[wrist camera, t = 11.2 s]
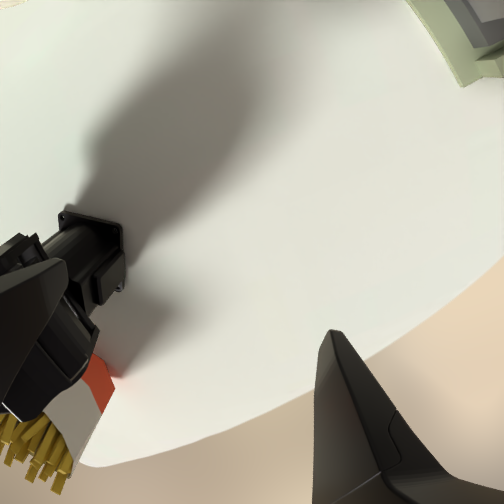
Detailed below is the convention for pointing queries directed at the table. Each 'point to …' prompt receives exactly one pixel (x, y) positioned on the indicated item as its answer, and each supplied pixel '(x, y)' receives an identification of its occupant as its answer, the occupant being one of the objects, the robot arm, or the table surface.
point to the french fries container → (59, 427)
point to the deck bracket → (458, 44)
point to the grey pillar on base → (480, 20)
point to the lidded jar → (10, 3)
